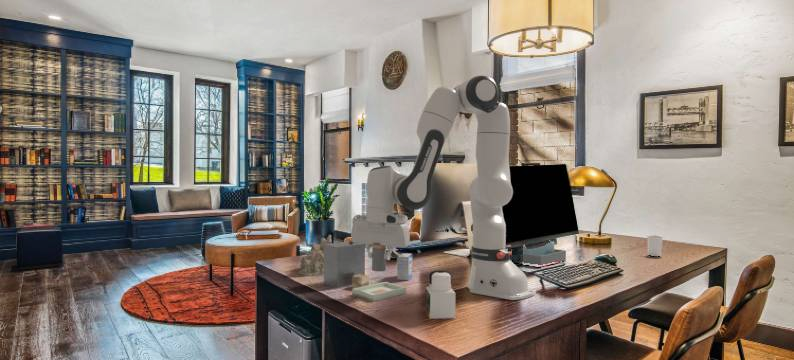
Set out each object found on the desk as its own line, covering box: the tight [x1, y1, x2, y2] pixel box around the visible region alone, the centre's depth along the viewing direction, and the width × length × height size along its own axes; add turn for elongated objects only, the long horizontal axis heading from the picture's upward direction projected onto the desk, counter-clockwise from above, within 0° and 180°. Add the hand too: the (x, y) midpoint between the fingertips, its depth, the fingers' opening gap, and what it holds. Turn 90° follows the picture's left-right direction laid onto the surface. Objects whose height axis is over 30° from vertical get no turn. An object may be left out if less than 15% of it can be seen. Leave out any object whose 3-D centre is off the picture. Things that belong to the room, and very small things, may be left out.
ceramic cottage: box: [298, 234, 332, 277], centre depth 178 cm, size 16×16×15 cm
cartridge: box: [371, 243, 387, 272], centre depth 144 cm, size 4×4×9 cm
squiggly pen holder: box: [523, 241, 555, 256], centre depth 202 cm, size 18×10×9 cm, turn 111°
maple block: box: [351, 274, 370, 289], centre depth 153 cm, size 4×4×4 cm
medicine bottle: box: [425, 270, 456, 320], centre depth 124 cm, size 7×7×12 cm
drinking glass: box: [646, 234, 664, 256], centre depth 218 cm, size 7×7×10 cm
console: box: [323, 240, 366, 289], centre depth 159 cm, size 9×12×15 cm
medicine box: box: [396, 252, 413, 281], centre depth 168 cm, size 8×4×9 cm, turn 169°
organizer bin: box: [523, 248, 567, 265], centre depth 199 cm, size 14×22×5 cm, turn 133°
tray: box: [351, 281, 407, 303], centre depth 145 cm, size 10×14×2 cm
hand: (379, 258), depth 144 cm, fingers closed on cartridge, 4 cm apart
